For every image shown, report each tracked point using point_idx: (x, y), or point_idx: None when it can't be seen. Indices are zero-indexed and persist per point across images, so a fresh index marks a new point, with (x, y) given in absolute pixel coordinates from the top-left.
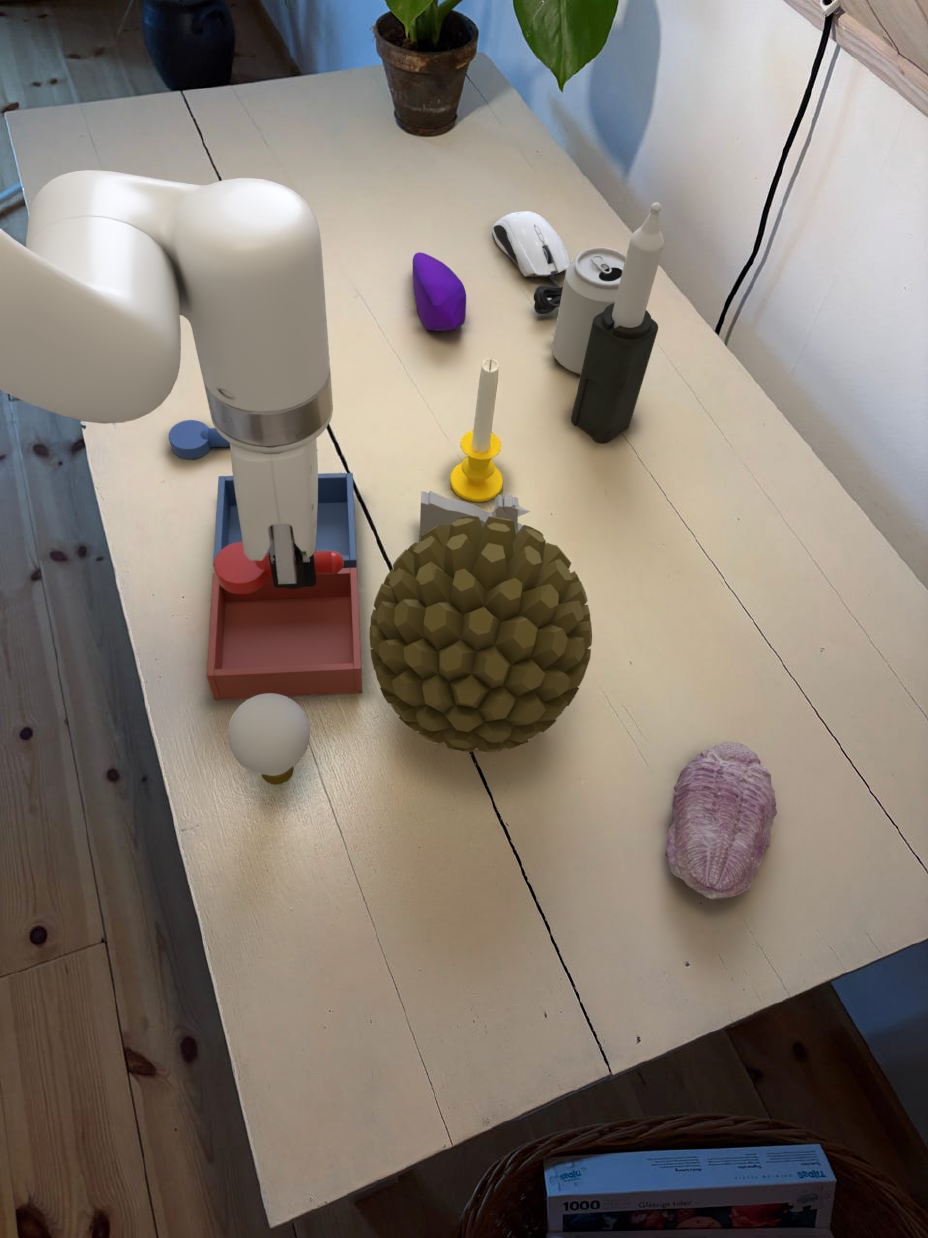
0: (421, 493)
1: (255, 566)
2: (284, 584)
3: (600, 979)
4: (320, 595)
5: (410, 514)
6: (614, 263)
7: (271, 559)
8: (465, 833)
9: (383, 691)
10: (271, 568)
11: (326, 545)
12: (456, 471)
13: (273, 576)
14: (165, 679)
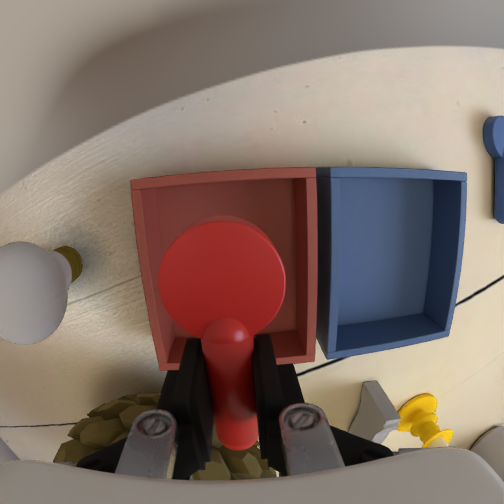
0: (398, 419)
1: (209, 319)
2: (167, 374)
3: (20, 438)
4: (297, 298)
5: (397, 369)
6: None
7: (129, 432)
8: (64, 401)
9: (104, 411)
10: (178, 373)
11: (371, 296)
12: (429, 400)
13: (182, 357)
14: (178, 115)
